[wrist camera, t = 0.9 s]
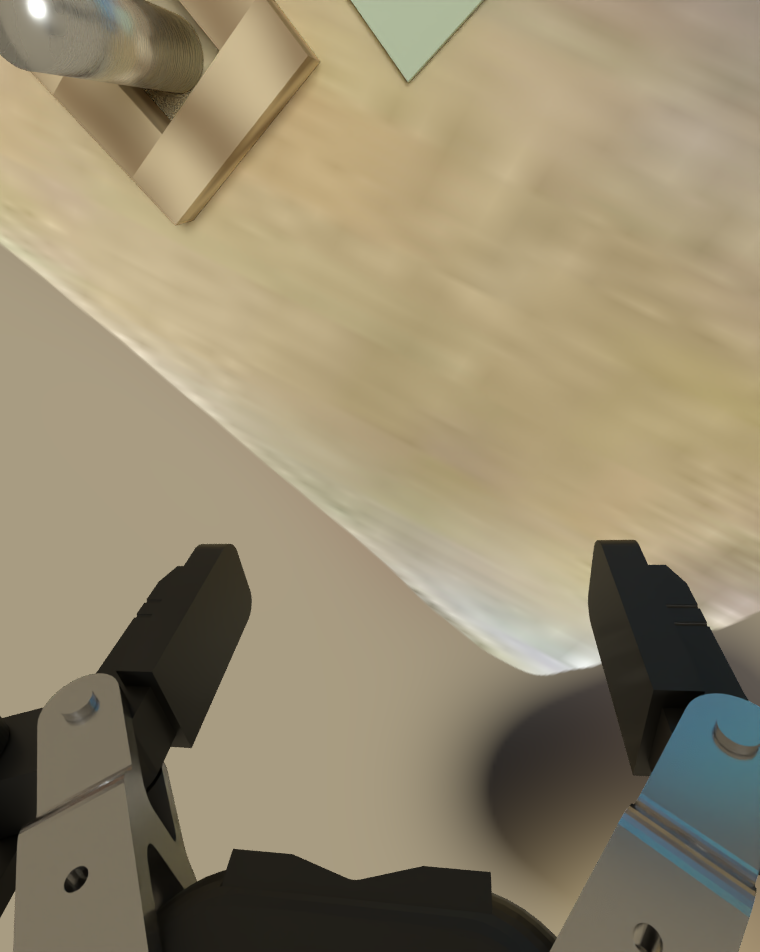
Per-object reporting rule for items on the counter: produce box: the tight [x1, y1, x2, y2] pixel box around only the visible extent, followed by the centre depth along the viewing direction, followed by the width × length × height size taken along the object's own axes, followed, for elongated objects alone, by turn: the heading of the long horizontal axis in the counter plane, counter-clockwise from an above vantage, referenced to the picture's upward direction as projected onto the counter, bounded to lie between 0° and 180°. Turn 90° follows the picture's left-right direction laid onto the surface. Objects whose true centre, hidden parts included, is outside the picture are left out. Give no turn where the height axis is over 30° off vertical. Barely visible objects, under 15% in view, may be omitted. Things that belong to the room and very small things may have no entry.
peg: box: [0, 0, 203, 93], centre depth 25 cm, size 4×4×12 cm
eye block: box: [30, 0, 320, 225], centre depth 28 cm, size 12×12×2 cm
